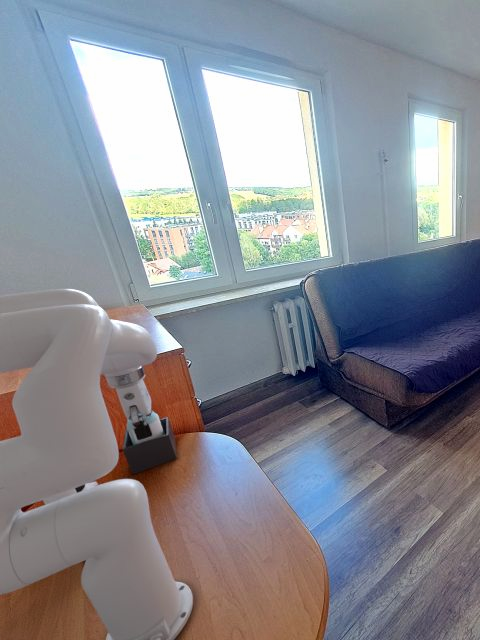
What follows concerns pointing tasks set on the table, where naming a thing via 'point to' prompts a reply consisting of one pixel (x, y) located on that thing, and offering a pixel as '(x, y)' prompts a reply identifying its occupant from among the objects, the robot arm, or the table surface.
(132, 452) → the bin
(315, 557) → the table surface
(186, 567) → the table surface
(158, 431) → the can
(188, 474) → the table surface
